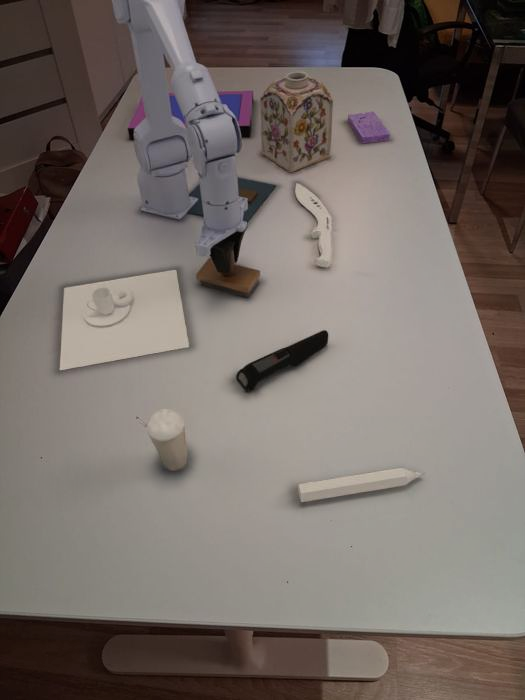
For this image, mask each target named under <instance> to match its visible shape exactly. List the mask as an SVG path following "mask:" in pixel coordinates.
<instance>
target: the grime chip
mask: <svg viewBox="0 0 525 700" xmlns="http://www.w3.org/2000/svg"><path fill="white" fill-rule="evenodd" d="M238 193H239V197H243V198H247V201H248V204H251V203H252V201H253V200H254V199H255V198H256V197H257V195H258V192H257V191H253V190H248V189H243V188H241V189H240V190H239V191H238Z"/></svg>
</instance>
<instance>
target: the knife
mask: <svg viewBox="0 0 525 700" xmlns="http://www.w3.org/2000/svg"><path fill="white" fill-rule="evenodd" d="M294 193H295V197H296V199H297V201H298V202H299V203H300V204H301V205H302V206H303V207H304V208H305V209H307V210H308V211H309V212H310V213H311V214H312V215H313V216H314V217H315V218H316V222H317V225H316V227H314V228H313V230H311V233H310V236H311V237H312V239H318V242H317V246H318V250H319V253H320V256H319V257H316V258H315V259H314V264H315V265H316V266H318V267H321V268H329V267H330V266H331V264H332V261H333V260H332V259H333V226H332V225H333V223H332V222H333V221H332V220H333V219H332V218H333V217H332V215H331V214H330V212H329V211H328V209H327V208H326V206H325V205H324V203H323V202H322V201H321V200H320V198H318V196H316V194H314V193H313V192H312V191H310V189H308V188H307V187H305V186H303V185H302V184H300V183H298V182H296V184H295V188H294Z"/></svg>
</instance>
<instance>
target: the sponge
mask: <svg viewBox="0 0 525 700" xmlns="http://www.w3.org/2000/svg"><path fill="white" fill-rule="evenodd" d="M347 123H348V124H349V126H350V127H351V129H352V131H353V132H354V134H355V135H356V137H357V138H358V140H359V142H360V143H361V144H372V143H377V142H378V143H379V142H386V141H387V142H388V141H389V140H390V136H391V134H390V132H389V130H387V128H386V127H385V126H384V124H383V122H382V121H381V119H380V118H379V116H378V115H377V113H376V112H375V111H368V112H364V113H363V112H361V113H351V114H347Z"/></svg>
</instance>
